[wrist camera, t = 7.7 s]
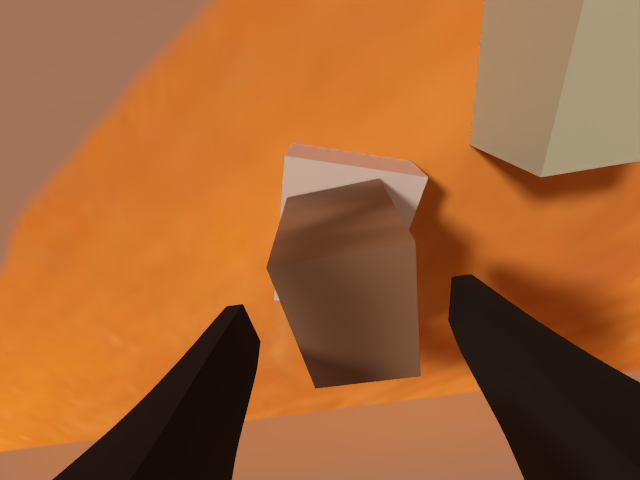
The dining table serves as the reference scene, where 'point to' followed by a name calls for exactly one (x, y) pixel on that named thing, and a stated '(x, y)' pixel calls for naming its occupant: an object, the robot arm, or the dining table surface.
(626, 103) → the sage brick
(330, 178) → the pale grey brick
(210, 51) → the dining table surface
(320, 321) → the walnut brick
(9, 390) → the dining table surface
